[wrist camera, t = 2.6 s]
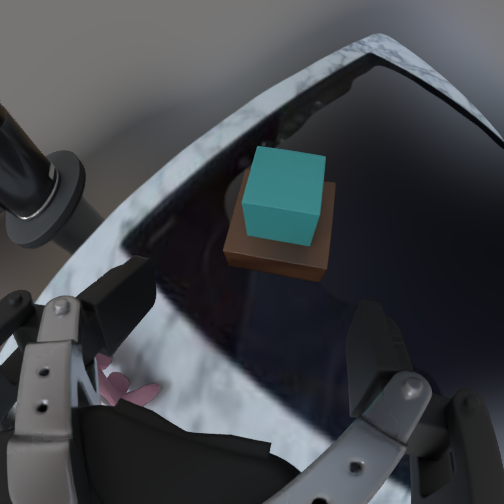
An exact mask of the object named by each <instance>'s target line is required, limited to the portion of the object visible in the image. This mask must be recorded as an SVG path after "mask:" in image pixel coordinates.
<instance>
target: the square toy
mask: <svg viewBox="0 0 504 504" xmlns="http://www.w3.org/2000/svg"><path fill="white" fill-rule="evenodd" d="M325 160H326V157H325V156H319V155H314V154H308V153H302V152H296V151H289V150H283V149H276V148H268V147H260V146H257V149H256V153H255V156H254V160H253V163H252V167H251V170H250V174H249V178H248V181H247V185H246V188H245V192H244V196H243V199H242V207H243V213H244V219H245V225H246V230H247V235H248V236H253V237H259V238H265V239H270V240H276V241H282V242H287V243H293V244H299V245H304V246H310V245H311V242H312V238H313V235H314V232H315V229H316V226H317V223H318V220H319V217H320V210H321V201H322V192H323V182H324V171H325Z"/></svg>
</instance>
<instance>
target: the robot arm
mask: <svg viewBox="0 0 504 504" xmlns="http://www.w3.org/2000/svg"><path fill="white" fill-rule="evenodd" d="M60 181H61V176H60V172H59V171H58V169H57V168H56V167H55V166H54V165H53V164H52V163H50V161H49V160H48V159H47V158H46V157H45V156H44V154H43V153H42V152H41V151H40V150H39V149H38V148H37V146H36V145H35V144H34V142H33V141H32V140H31V139H30V138H29V136H28V135H27V134H26V133H25V132H24V130H23V129H22V128H21V127H20V125H19V124H18V123H17V121H16V120H15V119H14V118H13V116H12V115H11V114H10V112H9V111H8V110H7V109H6V107H5V106H4V105H3V103H2V102H1V100H0V213H2V212H4V211H5V210H7V211H8V212H9V213H10V214H12V215H13V216H14V217H16V218H21V219H22V220H23V221H32V220H34V219H36V218H37V217H39V216H40V215H41V214H42V213H43V212H44V211H45V210H46V209H47V208H48V207H49V205H50V204H51V203H52V201H53V199H54V198H55V196H56V194H57V191H58V189H59V186H60ZM155 300H156V281H155V265H154V261H153V260H152V259H149V258H144V257H140V256H133V257H132V258H131V259H129V260H128V261H127V262H125V263H124V264H123V265H120V266H117V267H115V268H112V269H111V270H109V271H108V272H107V273H105V274H104V275H103V277H100V278H99V279H98V280H97V282H96V281H95V282H94V283H93V284H91V285H90V286H89V287H88V288H86V289H85V290H84V291H83V292H81V293H80V294H79V295H78V296H77V297H73V296H59V297H56V298H54V299H52V300H50V301H49V302H48V303H47V304H46V305H37V304H34V303H33V299H32V296H31V294H30V292H28V291H26V290H18V291H14V292H12V293H10V294H8V295H7V296H5V297H4V298H3V299H2V300H0V346H1V345H2V344H3V343H4V342H5V341H6V340H7V339H8V338H9V337H10V336H11V335H12V334H13V336H14V338H15V340H16V342H17V345H18V348H17V349H16V350H15V351H14V352H13V353H12V354H11V355H10V356H9V357H8V358H7V359H6V361H5V362H4V363H3V364H2V365H1V366H0V423H1V421H2V420H3V418H4V417H5V416H6V414H7V413H8V412H9V410H10V409H11V408H12V406H13V405H14V404H15V402H16V401H17V406H16V418H15V428H11V429H7V430H3V431H0V504H368V503H369V501H370V500H371V499H372V498H373V496H374V495H375V494H376V493H377V491H378V490H379V489H380V487H381V486H382V485H383V484H384V482H385V481H386V479H387V478H388V477H389V475H390V474H391V472H392V471H393V470H394V468H395V467H396V465H397V464H398V462H399V461H400V459H401V458H402V456H403V455H404V453H405V454H408V455H410V471H411V504H504V469H503V464H502V459H501V455H500V451H499V447H498V443H497V439H496V436H495V432H494V428H493V425H492V422H491V419H490V416H489V412H488V409H487V407H486V404H485V402H484V400H483V398H482V397H481V396H480V395H479V394H478V393H476V392H475V391H473V390H470V389H461V390H459V391H458V392H456V394H455V395H454V396H453V398H452V399H450V398H447V397H443V396H440V395H437V394H434V393H432V390H431V387H430V385H429V383H428V381H427V380H426V379H425V378H424V377H422V376H421V375H419V374H417V373H415V372H414V371H413V368H412V365H411V362H410V359H409V356H408V353H407V350H406V347H405V346H404V341H403V338H402V335H401V332H400V330H399V327H398V325H397V324H396V323H395V322H394V321H393V320H392V319H391V318H390V317H385V314H384V311H383V309H382V306H381V303H379V302H373V301H366V300H360V302H359V304H358V306H357V309H356V312H355V315H354V317H353V320H352V323H351V325H350V328H349V331H348V334H347V337H346V344H345V351H346V361H347V373H348V387H349V403H350V417H358V418H357V419H356V420H355V421H354V422H353V423H352V424H351V425H350V426H349V427H348V428H347V429H346V430H345V432H344V433H343V434H342V435H341V436H340V437H339V438H338V439H337V440H336V441H335V442H334V443H333V444H332V445H331V446H330V447H329V448H328V449H327V450H326V451H325V452H324V453H323V454H322V455H320V456H319V457H318V458H317V459H316V460H315V461H314V462H313V463H312V464H311V465H310V466H308V467H307V468H306V469H305V470H304V471H303V472H302V473H301V472H300V471H299V470H298V469H297V468H295V467H294V466H293V465H291V464H290V463H288V462H287V461H285V460H284V459H282V458H280V457H278V456H276V455H273V454H271V453H269V452H270V447H271V443H269V442H264V441H258V440H253V439H248V438H243V437H239V436H234V435H225V434H206V433H192V432H187V431H184V430H183V429H181V428H179V427H178V426H176V425H174V424H173V423H171V422H169V421H168V420H166V419H165V418H163V417H161V416H160V415H158V414H157V413H155V412H154V411H152V410H149V409H147V408H144V407H142V406H139V405H137V404H134V403H132V402H130V401H127V400H125V399H123V398H120V399H119V400H118V402H117V403H116V405H115V406H109V405H102V404H101V400H100V391H99V381H98V369H97V360H96V356H97V354H98V353H100V354H103V355H105V356H107V357H109V358H110V357H111V356H112V355H113V353H114V352H115V351H116V350H117V349H118V347H119V346H120V345H121V344H122V343H123V341H124V340H125V339H126V338H127V337H128V335H129V334H130V333H131V332H132V331H133V329H134V328H135V327H136V326H137V325H138V323H139V322H140V321H141V320H142V319H143V318H144V316H145V315H146V314H147V313H148V312H149V311H150V309H151V308H152V307H153V305H154V303H155ZM451 450H452V454H453V461H454V475H453V477H452V468H451V461H450V454H449V452H450V451H451Z"/></svg>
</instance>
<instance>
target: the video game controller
mask: <svg viewBox="0 0 504 504" xmlns="http://www.w3.org/2000/svg"><path fill="white" fill-rule="evenodd" d="M96 360H97V369H98V381H99V391H100V400H101V404H102V405H109V406H115V405H116V403H117V402H118V400H119V399H120V398H123V399H125V400H127V401H130V402H132V403H134V404H137V405H139V406H144V405H145V404H147V403H148V402H149V401H151V400H152V399H153V398H154V397H155V396H156V395H157V394H158V393H159V391H160V385H159V384H156V383H152V384H148V385H145V386H143V387H141V388H139V389H137V390H134V391H131V392H128V393H126V391H127V390H128V388H129V381H128V379H127V378H126V377H125V376H124V375H123V374H121V373H119V372H112V373H111V374H110V375H109V376H108V378H106V376H105V375H104V373H103V371H102V370H104V369H106V368H107V367H108V366H109V365H110V363H111V362H112V357H110V358H109V357H107V356H105V355H103V354H100V353H98V354H97V356H96Z"/></svg>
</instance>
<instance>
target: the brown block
mask: <svg viewBox="0 0 504 504" xmlns="http://www.w3.org/2000/svg"><path fill="white" fill-rule="evenodd" d="M250 170H251V169H246V171H245V174H244V178H243V181H242V184H241V188H240V192H239V195H238V198H237V202H236V206H235V209H234V213H233V217H232V220H231V223H230V227H229V231H228V234H227V238H226V242H225V245H224V249H223V251H224V254H225V256H226V259H227V261H228V264H229V266H234V267H239V268H244V269H250V270H255V271H260V272H266V273H271V274H277V275H282V276H288V277H293V278H299V279H304V280H310V281H316V282H320V280H321V278H322V277H323V275H324V273H325V272H326V270H327V267H328V259H329V249H330V241H331V232H332V222H333V210H334V199H335V186H336V184H335V183H332V182H327V181H324V182H323V192H322V201H321V210H320V217H319V220H318V223H317V226H316V229H315V232H314V235H313V238H312V242H311V245H310V246H304V245H299V244H293V243H287V242H282V241H276V240H270V239H265V238H259V237H253V236H248V235H247V230H246V225H245V219H244V213H243V207H242V199H243V196H244V192H245V188H246V185H247V181H248V178H249V174H250Z"/></svg>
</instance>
